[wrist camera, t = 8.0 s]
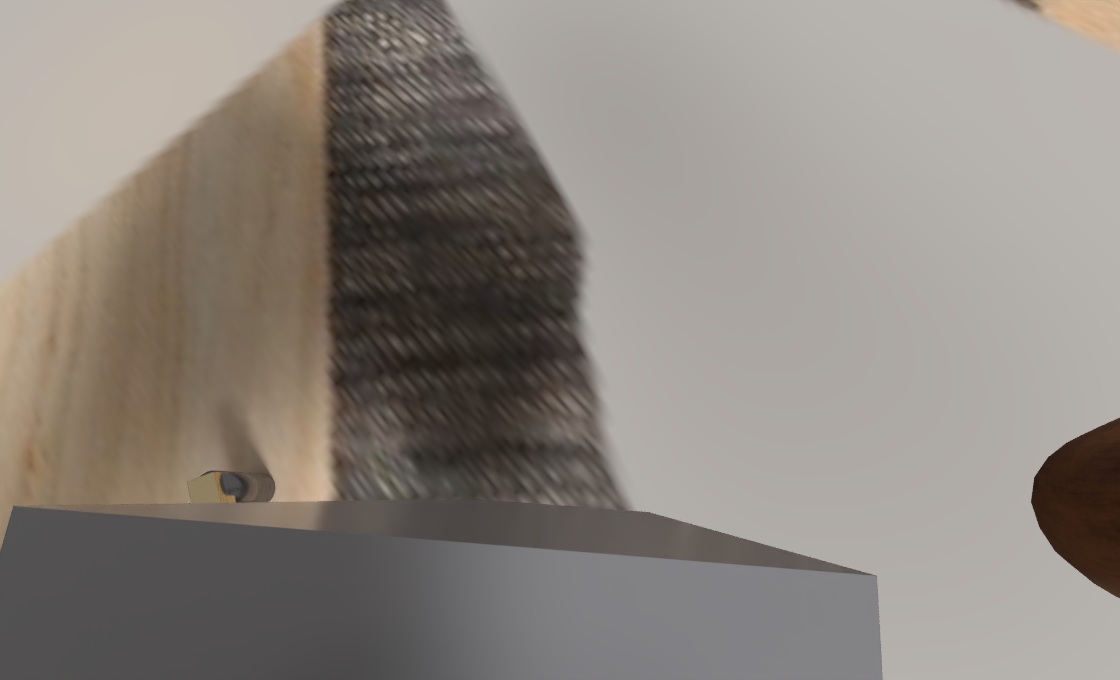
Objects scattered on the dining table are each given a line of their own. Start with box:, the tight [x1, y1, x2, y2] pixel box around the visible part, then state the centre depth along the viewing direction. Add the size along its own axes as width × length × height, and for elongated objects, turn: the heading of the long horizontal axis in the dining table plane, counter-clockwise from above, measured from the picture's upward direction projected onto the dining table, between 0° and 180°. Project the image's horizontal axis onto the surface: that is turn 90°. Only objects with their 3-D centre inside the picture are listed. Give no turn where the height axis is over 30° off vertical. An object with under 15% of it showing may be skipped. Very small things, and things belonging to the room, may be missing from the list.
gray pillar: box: [0, 499, 882, 680], centre depth 9 cm, size 4×4×13 cm
